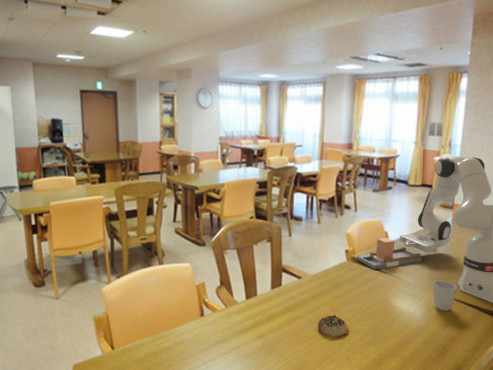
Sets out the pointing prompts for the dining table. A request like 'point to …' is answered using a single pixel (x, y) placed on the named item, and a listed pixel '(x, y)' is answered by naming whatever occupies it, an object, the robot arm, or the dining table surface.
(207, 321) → the dining table surface
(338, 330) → the bread roll
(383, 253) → the block
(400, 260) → the tray
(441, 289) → the cup
